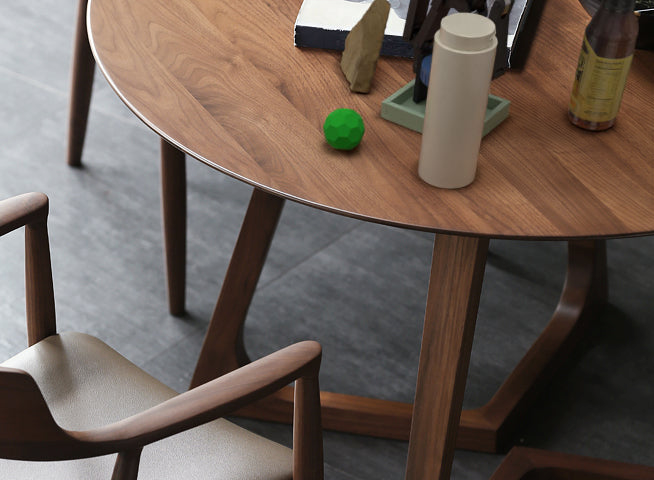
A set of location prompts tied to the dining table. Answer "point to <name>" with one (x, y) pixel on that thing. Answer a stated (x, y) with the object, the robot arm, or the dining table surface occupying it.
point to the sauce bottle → (604, 65)
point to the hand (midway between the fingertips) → (444, 110)
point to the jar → (457, 99)
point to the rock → (365, 46)
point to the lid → (426, 69)
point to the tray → (412, 114)
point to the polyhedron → (343, 129)
